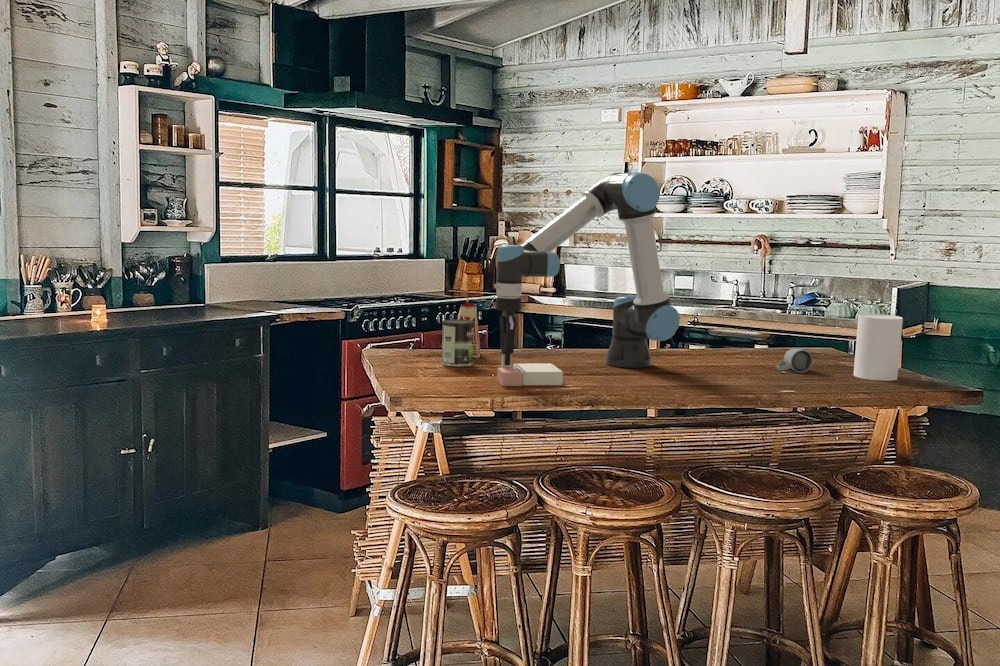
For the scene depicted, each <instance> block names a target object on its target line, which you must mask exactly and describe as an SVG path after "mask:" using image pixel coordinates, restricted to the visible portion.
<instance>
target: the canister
mask: <svg viewBox="0 0 1000 666" xmlns="http://www.w3.org/2000/svg"><path fill="white" fill-rule="evenodd" d="M903 322H904V318H903V317H901V316H899V315H892V314H881V313H859V314H858V318H857V329H856V340H855V353H854V361H853V362H854V365H853V377H855V378H859V379H864V380H871V381H881V382H884V381H887V382H888V381H890V382H892V381H897V380H898V375H899V365H900V364H899V363H900V354H901V342H902V332H903Z"/></svg>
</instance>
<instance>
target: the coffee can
mask: <svg viewBox="0 0 1000 666" xmlns="http://www.w3.org/2000/svg"><path fill="white" fill-rule="evenodd" d="M441 322H442V335H441V336H442V339H441V340H442V341H441V342H442V347H441V348H442V349H441V364H442V365H444V366H449V367H469V366H473V364H474V362H473V360H474V359H473V327H474V322H473V321H470V320H458V318H457V319H445V320H442V321H441Z"/></svg>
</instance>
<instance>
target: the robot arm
mask: <svg viewBox="0 0 1000 666" xmlns="http://www.w3.org/2000/svg"><path fill="white" fill-rule="evenodd" d="M660 194H661V193H660V188H659V184H658V182H657V181H656V179H655V178H654V177H652V176H651V175H650V174H647V173H644V172H643V173H642V172H638V171H636V172H635V171H633V172H614V173H610V174H608V175H607V176H605V177H603V178H602V179H600V180H598V181H597V182H596V183H594V184H593V185H592V186H591V187H589V188H588V189H587V190H586V191H584V192H583V193H582V196H581V198H580V199H579V200H578V201H576V202H575V203H573V205H571V206H570V207H568V208H567V209H565V211H563V212H562V213H561V214H560V215H558V216H557V217H556V218H555V219H552V221H550V222H549V223H548V224H547V225H545V226H544V227H543V228H542V229H540V230H539V231H537V232H536V233H535V234H534V235H532V236H531V237H530V238H528V239H527V240H526V241H524V242H523V243H522V244H521V245H520V244H500V245H499V247H498V250H497V257H496V264H497V265H496V285H494V289H496V296H497V297H496V298H495V310H497V311H501V315H500V317H499V323H500V324H499V327H500V329H499V331H500V332H499V333H500V339H499V340H500V347H499V348H500V350H501V351H500V355H501V362H500V363H501V365H500V368H512V354H514V352H515V351H514V350H515V349H514V347H515V337H516V329H517V322H516V321H517V320H516V319H517V318H516V316H515V312H519V311H521V310H522V298H521V297H522V294H523V293H522V292H523V291H522V290H523V278H527V277H529V278H540V277H541V278H542V277H543V278H550V277H556V276H557V275H558V273H559V271H560V266H561V261H560V260H561V259H560V258H559V255H558V254H557V253H556V252H554V250H555V249H557V248H558V247H559V246H561V245H562V244H563V243H565V242H566V241H567V240H569V238H571V237H572V236H574V235H575V234H577V232H579V231H580V230H581V229H582V228H584V227H585V226H586V225H587V224H589V223H590V222H591V221H593V220H594V219H595V218H601V217H603V216H604V215H606V214H607V213H609V212H612V211H615V210H617V215H618V220H619V221H621V222H622V223H623V224H624V227H625V233H626V239H627V245H628V251H629V257H630V264H631V270H632V274H633V276H632V277H633V280H634V286H635V293H636V296H618V297H616V298H615V299H614V300H613V307H612V312H613V313H612V314H613V315H612V316H613V317H612V333H611V334H612V338H611V343H610V345H609V348H608V350H607V353H606V355H605V364H606V365H607V366H608V365H609V366H612V367H618V368H629V369H630V368H631V369H633V368H634V369H640V368H641V369H642V368H648V367H651V366H652V357H651V354H650V349H649V345H648V339H649V340H651V341H657V342H664V341H667V340H669V339H670V338H672V337H673V336H674V335H675V334H676V332H677V330H678V329H679V327H680V324H681V323H680V322H681V321H680V319H681V318H680V314H679V311H678V310H677V308H676V307H673V306H672V305H671V300H670V295H669V294H668V293H666V292H665V291H664V286H663V279H662V273H661V268H660V266H661V265H660V262H659V255H658V249H657V242H656V236H655V230H654V224H653V217H655V215H656V207H657V205H658V202H659V200H660V196H661V195H660Z"/></svg>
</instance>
